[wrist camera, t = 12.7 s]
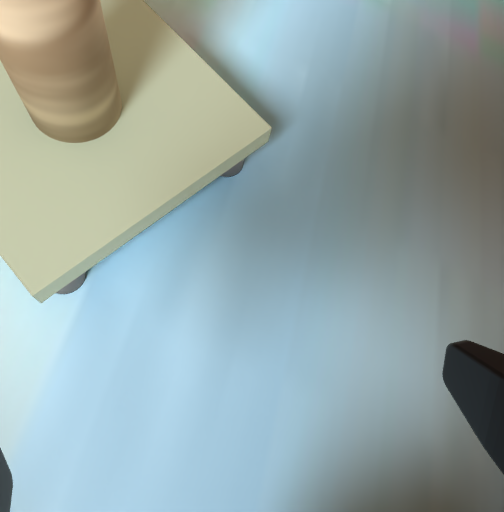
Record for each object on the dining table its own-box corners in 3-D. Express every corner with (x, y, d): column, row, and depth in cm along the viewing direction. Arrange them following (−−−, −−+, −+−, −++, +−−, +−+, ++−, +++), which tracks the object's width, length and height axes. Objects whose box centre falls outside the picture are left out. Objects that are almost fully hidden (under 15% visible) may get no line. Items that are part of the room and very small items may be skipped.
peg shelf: (57, 315, 22) (32, 296, 19) (-92, 127, 25) (-139, 79, 21) (261, 166, 27) (271, 128, 23) (118, 19, 29) (108, -35, 26)
